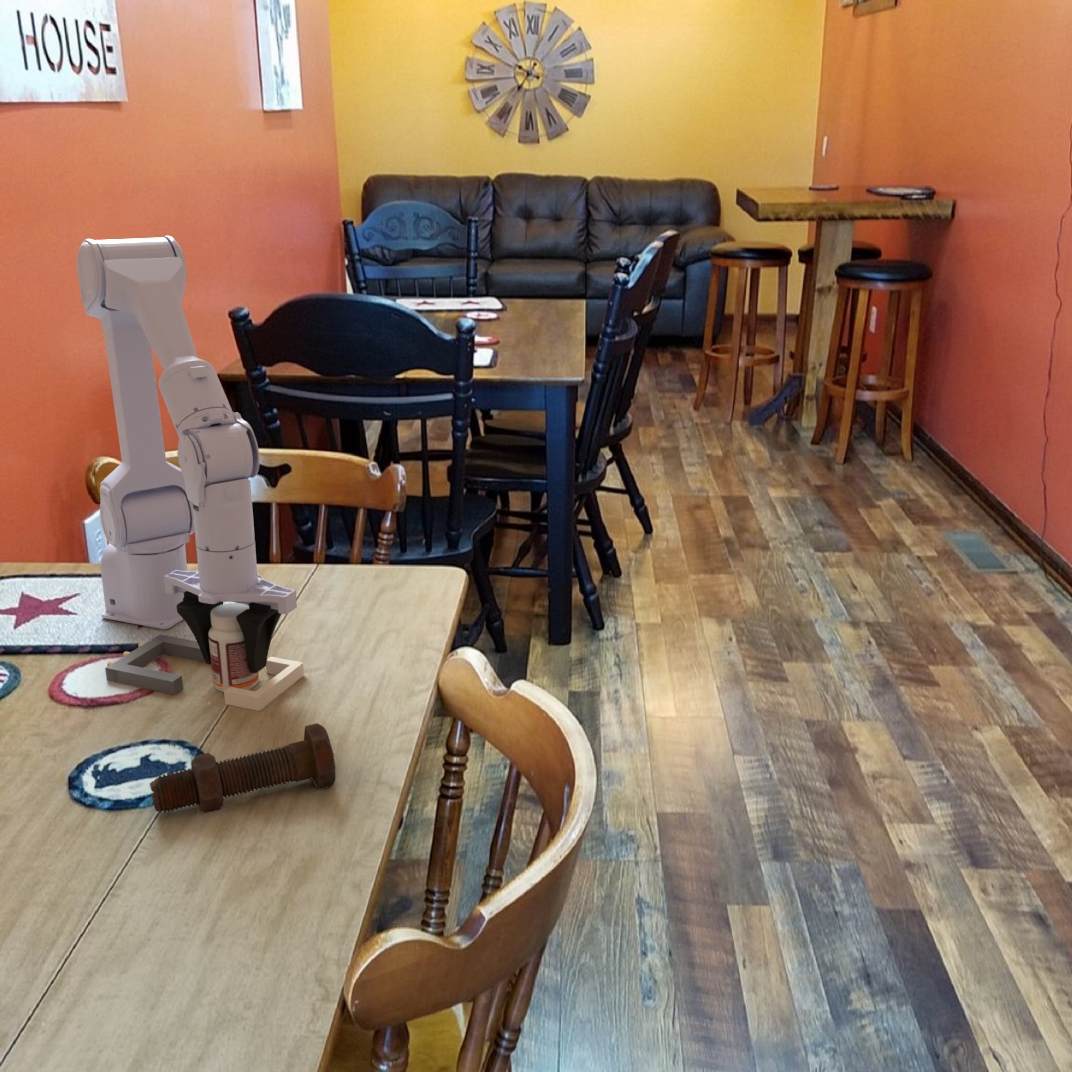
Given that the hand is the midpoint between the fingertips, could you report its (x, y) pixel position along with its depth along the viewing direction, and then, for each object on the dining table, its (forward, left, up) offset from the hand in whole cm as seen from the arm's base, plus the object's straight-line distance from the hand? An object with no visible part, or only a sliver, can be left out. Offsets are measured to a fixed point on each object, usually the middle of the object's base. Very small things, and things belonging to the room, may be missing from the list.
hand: (235, 664), depth 117 cm
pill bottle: (0, 0, -2) cm, 2 cm away
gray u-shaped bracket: (-9, 0, -2) cm, 10 cm away
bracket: (+3, 0, -2) cm, 4 cm away
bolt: (+13, -18, -3) cm, 22 cm away
